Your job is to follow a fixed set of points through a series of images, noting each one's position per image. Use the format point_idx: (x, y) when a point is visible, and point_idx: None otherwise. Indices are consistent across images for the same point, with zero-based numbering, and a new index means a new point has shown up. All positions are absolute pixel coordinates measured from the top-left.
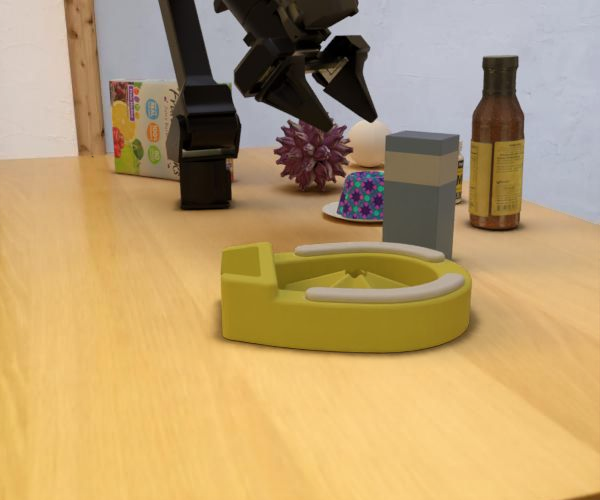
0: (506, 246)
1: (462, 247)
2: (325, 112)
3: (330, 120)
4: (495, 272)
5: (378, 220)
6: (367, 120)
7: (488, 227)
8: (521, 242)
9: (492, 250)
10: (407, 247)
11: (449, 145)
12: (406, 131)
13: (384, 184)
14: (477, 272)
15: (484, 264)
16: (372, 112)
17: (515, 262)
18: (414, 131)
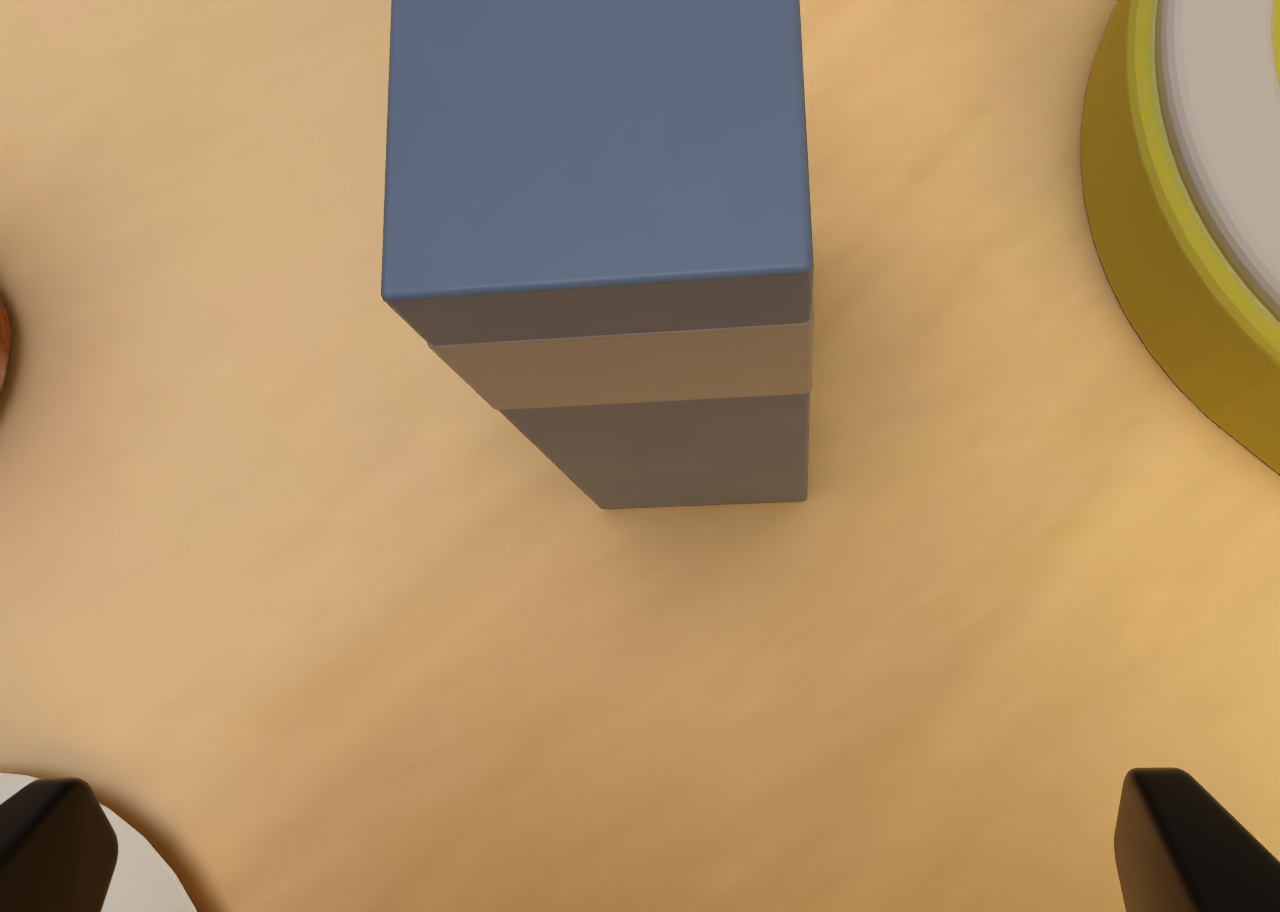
0: (249, 166)
1: (363, 311)
2: (1245, 905)
3: (1175, 813)
4: None
5: (172, 880)
6: (98, 898)
7: (9, 341)
8: (154, 143)
9: (342, 185)
10: (1238, 65)
11: None
12: (452, 246)
13: (809, 394)
14: None
15: None
16: (39, 842)
17: None
18: (411, 188)
